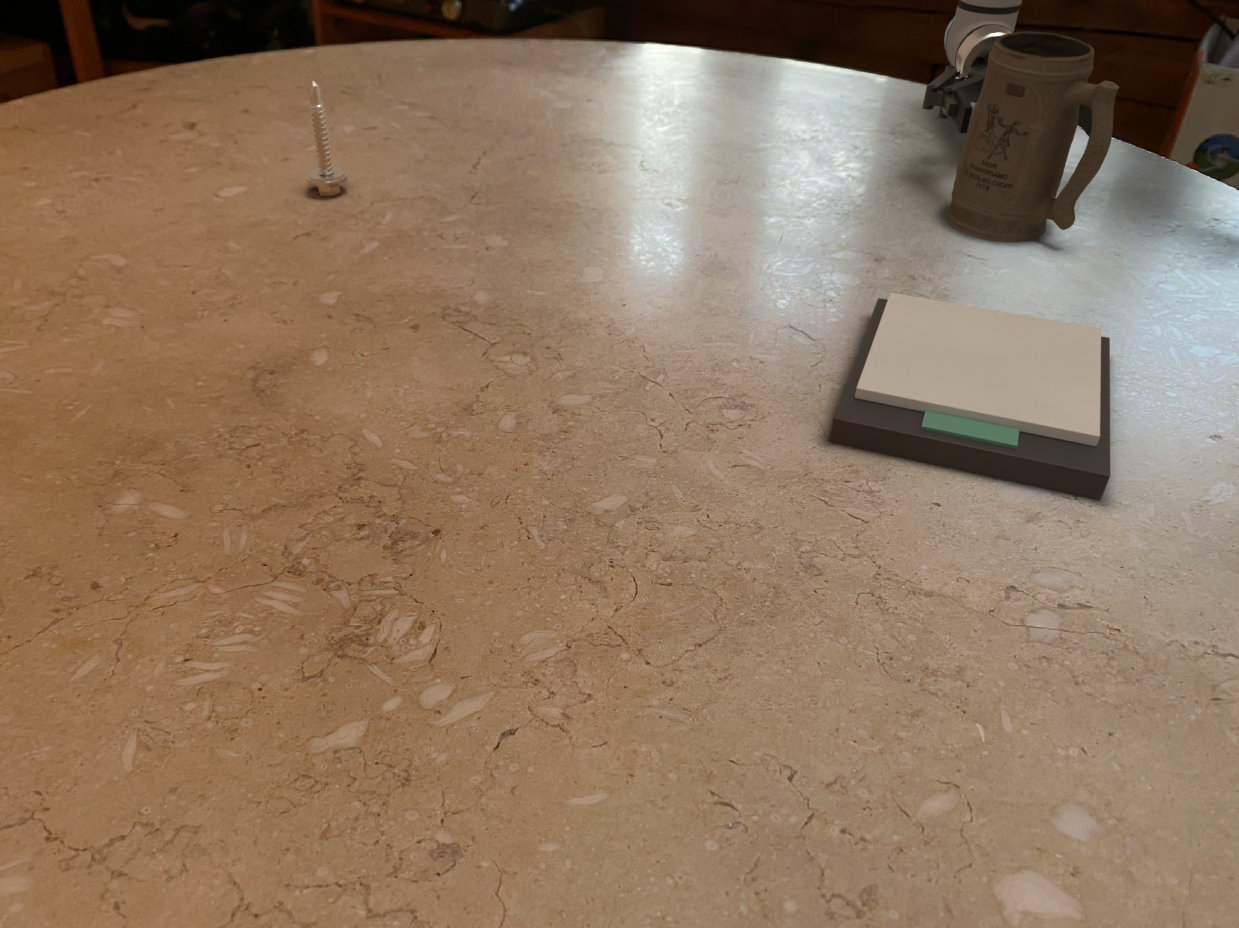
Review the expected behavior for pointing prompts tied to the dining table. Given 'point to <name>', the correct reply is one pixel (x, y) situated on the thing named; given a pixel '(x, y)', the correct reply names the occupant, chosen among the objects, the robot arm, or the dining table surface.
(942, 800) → the dining table surface
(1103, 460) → the scale
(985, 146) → the beer stein
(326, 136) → the screw
